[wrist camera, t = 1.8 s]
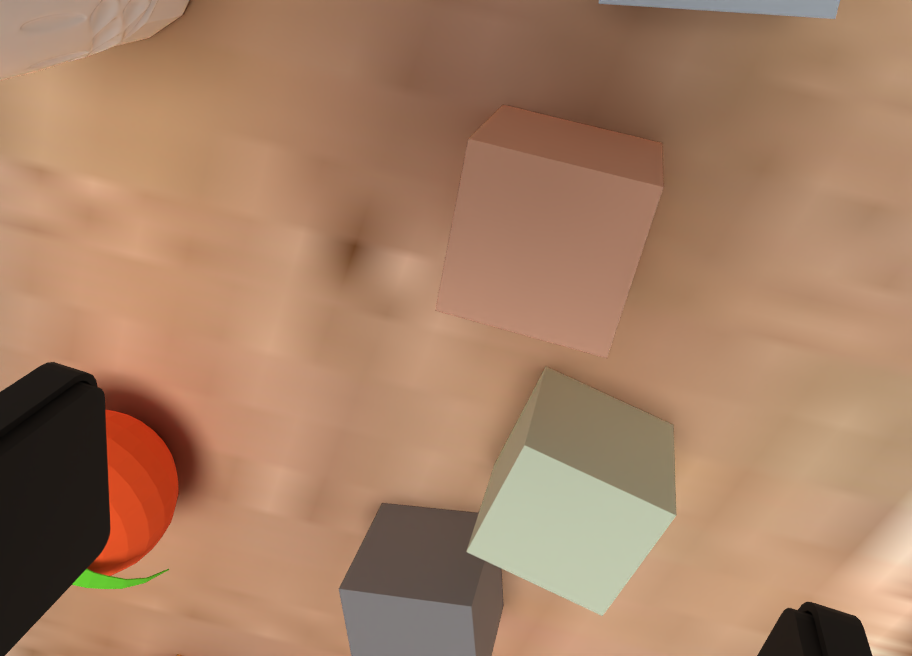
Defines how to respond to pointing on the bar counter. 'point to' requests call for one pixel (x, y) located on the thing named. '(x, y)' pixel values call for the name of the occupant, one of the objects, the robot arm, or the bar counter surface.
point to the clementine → (133, 500)
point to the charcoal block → (421, 587)
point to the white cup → (74, 29)
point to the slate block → (745, 6)
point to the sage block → (578, 492)
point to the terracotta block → (550, 227)
